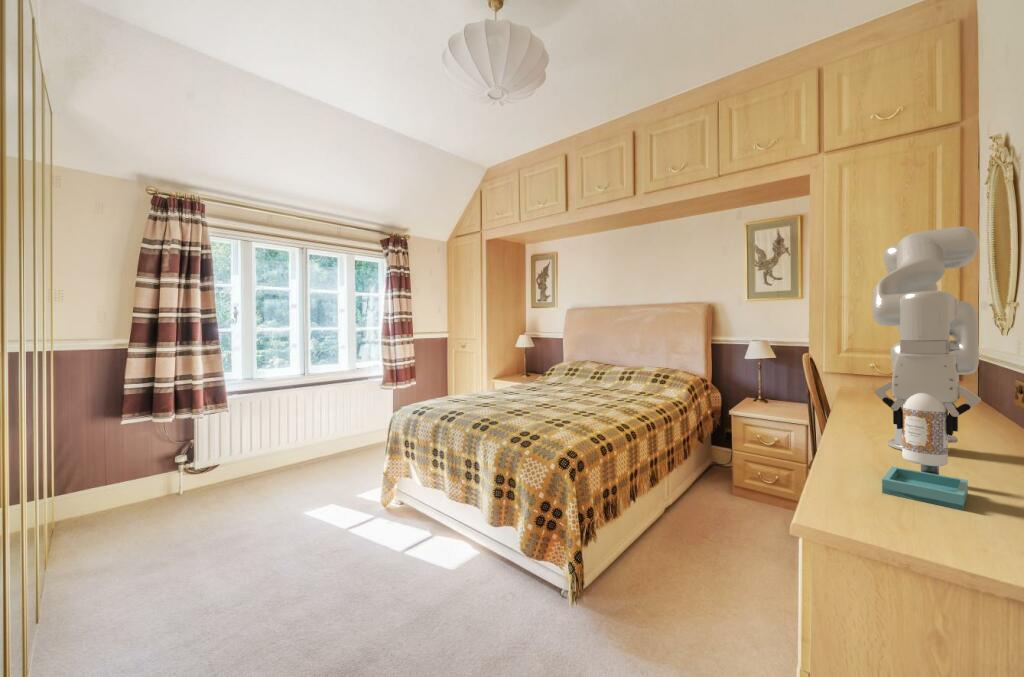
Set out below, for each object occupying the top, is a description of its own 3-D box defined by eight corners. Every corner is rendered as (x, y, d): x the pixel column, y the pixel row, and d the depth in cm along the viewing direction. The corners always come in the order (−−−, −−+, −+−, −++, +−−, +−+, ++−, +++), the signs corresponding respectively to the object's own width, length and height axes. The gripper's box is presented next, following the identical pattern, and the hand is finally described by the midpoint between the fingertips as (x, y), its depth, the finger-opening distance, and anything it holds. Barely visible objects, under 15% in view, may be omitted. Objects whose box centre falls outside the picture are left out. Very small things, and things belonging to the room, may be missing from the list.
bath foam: (894, 458, 91) (894, 368, 90) (915, 455, 93) (914, 367, 92) (934, 468, 84) (934, 371, 84) (955, 464, 86) (955, 370, 86)
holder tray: (892, 478, 97) (892, 466, 97) (967, 493, 88) (967, 480, 88) (882, 492, 89) (882, 479, 89) (963, 510, 80) (963, 495, 80)
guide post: (930, 477, 97) (930, 427, 97) (952, 485, 92) (952, 432, 92) (908, 477, 98) (908, 427, 97) (929, 485, 93) (929, 433, 92)
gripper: (986, 349, 84) (986, 435, 84) (874, 347, 97) (874, 422, 97) (985, 350, 79) (985, 442, 79) (867, 349, 92) (867, 427, 93)
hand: (924, 430), depth 88 cm, fingers closed on bath foam, 7 cm apart
